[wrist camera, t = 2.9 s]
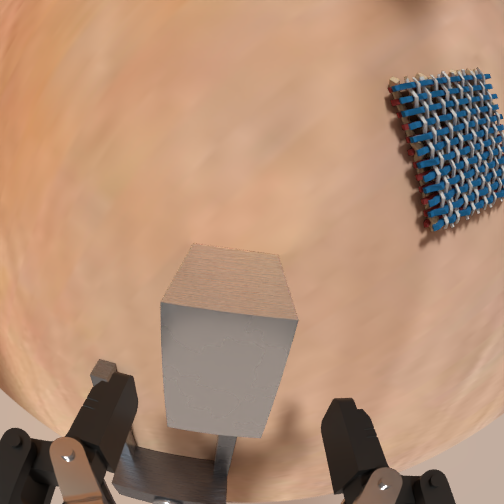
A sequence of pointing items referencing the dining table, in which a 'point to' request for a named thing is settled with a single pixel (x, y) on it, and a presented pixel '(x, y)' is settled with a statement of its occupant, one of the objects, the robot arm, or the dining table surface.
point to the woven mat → (453, 143)
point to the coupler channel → (168, 467)
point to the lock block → (225, 340)
